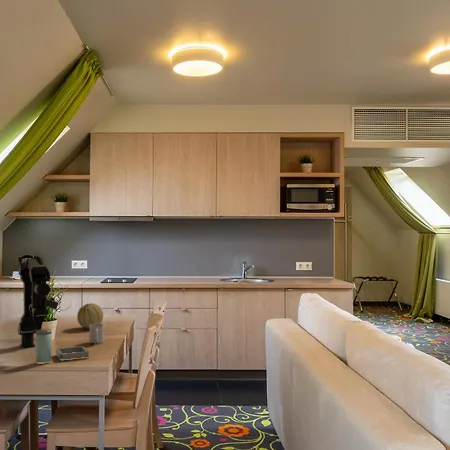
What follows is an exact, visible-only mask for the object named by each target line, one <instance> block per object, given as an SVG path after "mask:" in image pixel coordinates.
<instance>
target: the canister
mask: <svg viewBox="0 0 450 450" xmlns="http://www.w3.org/2000/svg"><path fill="white" fill-rule="evenodd" d="M35 334H36V336H35V337H36V340H35V342H36V343H35V348H36V349H35V351H36V352H35V363H36V362H49V361H51V362H52V329H51V328H41V329H40V330H37V331H36V333H35Z"/></svg>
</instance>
